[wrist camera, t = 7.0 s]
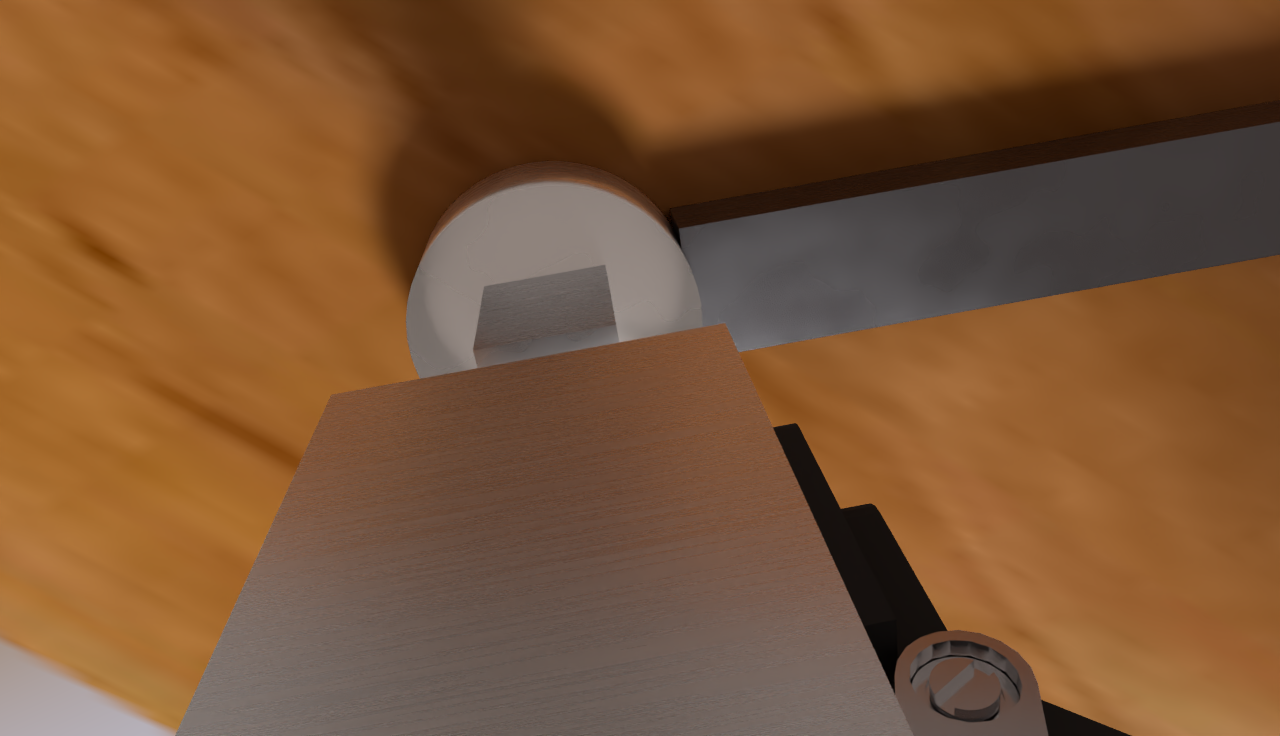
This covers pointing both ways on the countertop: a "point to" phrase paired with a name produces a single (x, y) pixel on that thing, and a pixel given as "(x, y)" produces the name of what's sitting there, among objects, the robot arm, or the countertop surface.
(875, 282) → the ratchet
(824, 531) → the robot arm
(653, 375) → the white block
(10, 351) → the countertop surface
